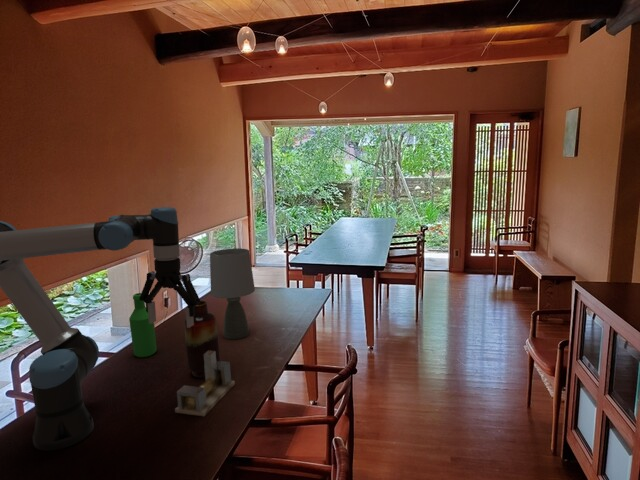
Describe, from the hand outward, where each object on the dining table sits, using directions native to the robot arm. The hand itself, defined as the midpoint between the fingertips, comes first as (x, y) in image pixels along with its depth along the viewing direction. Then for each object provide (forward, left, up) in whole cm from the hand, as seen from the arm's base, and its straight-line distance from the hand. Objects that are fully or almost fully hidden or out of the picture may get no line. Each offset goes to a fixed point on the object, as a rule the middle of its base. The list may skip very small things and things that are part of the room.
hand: (171, 324), depth 143 cm
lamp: (+53, +6, -25) cm, 59 cm away
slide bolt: (+2, -9, -24) cm, 25 cm away
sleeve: (-6, -9, -24) cm, 26 cm away
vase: (+18, +1, -25) cm, 31 cm away
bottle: (+28, +34, -25) cm, 51 cm away
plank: (+2, -9, -25) cm, 27 cm away
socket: (+10, -9, -24) cm, 27 cm away
